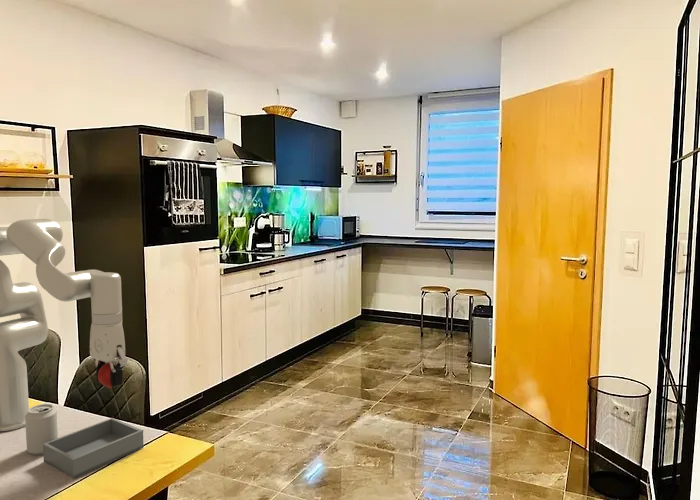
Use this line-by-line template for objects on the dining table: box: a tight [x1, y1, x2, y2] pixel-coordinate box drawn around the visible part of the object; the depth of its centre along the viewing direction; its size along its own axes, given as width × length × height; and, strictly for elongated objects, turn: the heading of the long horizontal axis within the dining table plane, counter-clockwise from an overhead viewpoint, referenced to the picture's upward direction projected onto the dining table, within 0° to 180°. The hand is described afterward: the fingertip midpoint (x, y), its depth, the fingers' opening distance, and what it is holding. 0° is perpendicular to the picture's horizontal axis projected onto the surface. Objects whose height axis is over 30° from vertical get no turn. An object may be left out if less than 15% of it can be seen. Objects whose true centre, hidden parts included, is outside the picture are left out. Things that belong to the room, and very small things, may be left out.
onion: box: [98, 363, 117, 389], centre depth 143 cm, size 6×6×8 cm
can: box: [25, 403, 59, 456], centre depth 143 cm, size 8×8×12 cm
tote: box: [42, 417, 144, 480], centre depth 140 cm, size 15×20×5 cm
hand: (109, 381), depth 143 cm, fingers closed on onion, 5 cm apart
